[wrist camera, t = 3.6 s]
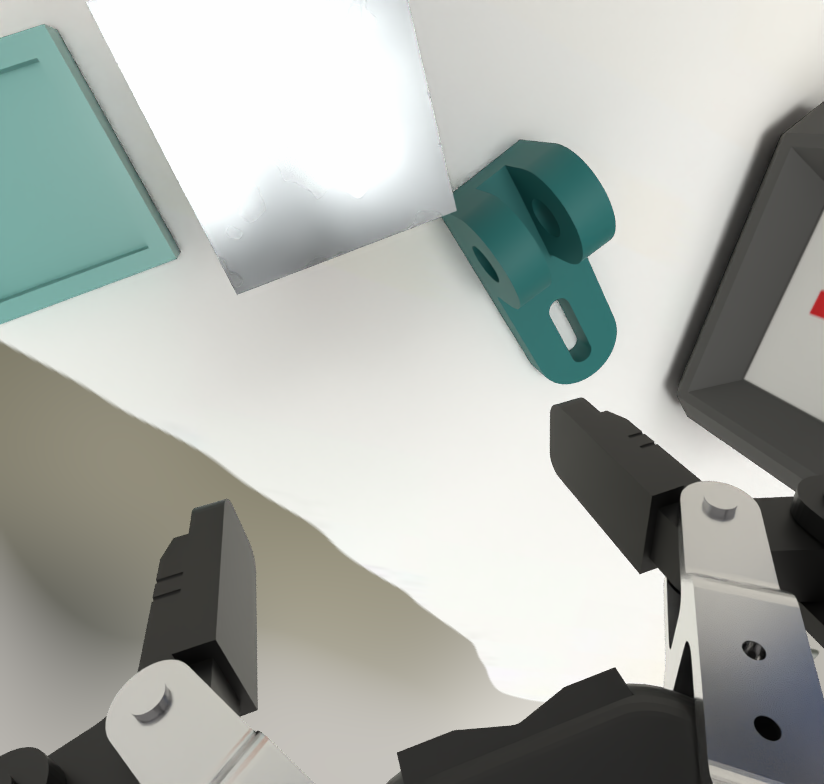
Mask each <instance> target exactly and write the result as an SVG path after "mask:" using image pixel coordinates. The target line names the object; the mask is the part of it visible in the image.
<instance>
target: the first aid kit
mask: <svg viewBox="0 0 824 784" xmlns="http://www.w3.org/2000/svg"><path fill="white" fill-rule="evenodd" d="M677 397H678V399H679V401H680V403H681V405H682V407H683V409H684V411H685V413H686V415H687V417H689V418H690V419H692V420H693V421H695V422H696V423H697V424H699V425H700V426H702V427H703V428H705V429H706V430H708V431H709V432H710V433H712V434H713V435H715V436H716V437H718V438H719V439H720V440H722V441H723V442H725V443H726V444H728V445H729V446H731V447H732V448H733V449H735V450H736V451H738V452H739V453H741V454H742V455H744V456H745V457H746V458H748V459H749V460H751V461H752V462H754V463H755V464H756V465H758V466H759V467H761V468H762V469H764V470H765V471H767V472H768V473H769V474H771V475H772V476H774V477H775V478H777V479H778V480H779V481H781V482H782V483H784V484H785V485H787V486H788V487H790V488H791V489H792V490H794V491H795V492H796V489H797V487H798V484H799V483H800V482H801V481H802V480H803V479H805V478H807V477H810V476H815V475H824V102H823V103H821V104H820V105H819V106H817V107H816V108H815V109H814V110H812V111H811V112H810V113H809V114H807V115H806V116H805V117H804V118H802V119H801V120H800V121H799V122H797V123H796V124H795V125H794V126H792V127H791V128H790V129H789V130H787V131H786V132H785V133H784V134H782V135H781V137H780V139H779V142H778V144H777V146H776V149H775V151H774V154H773V156H772V159H771V161H770V163H769V166H768V168H767V171H766V173H765V176H764V178H763V181H762V183H761V185H760V188H759V190H758V193H757V195H756V198H755V200H754V202H753V205H752V207H751V210H750V212H749V215H748V217H747V219H746V222H745V224H744V227H743V229H742V232H741V234H740V237H739V239H738V241H737V244H736V246H735V249H734V251H733V254H732V256H731V258H730V261H729V263H728V266H727V268H726V271H725V273H724V275H723V278H722V280H721V283H720V285H719V288H718V290H717V292H716V295H715V297H714V300H713V302H712V305H711V307H710V310H709V312H708V314H707V317H706V319H705V322H704V324H703V327H702V329H701V331H700V334H699V336H698V339H697V341H696V344H695V346H694V348H693V351H692V353H691V356H690V358H689V361H688V363H687V365H686V368H685V370H684V373H683V375H682V378H681V380H680V383H679V386H678V393H677Z"/></svg>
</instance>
